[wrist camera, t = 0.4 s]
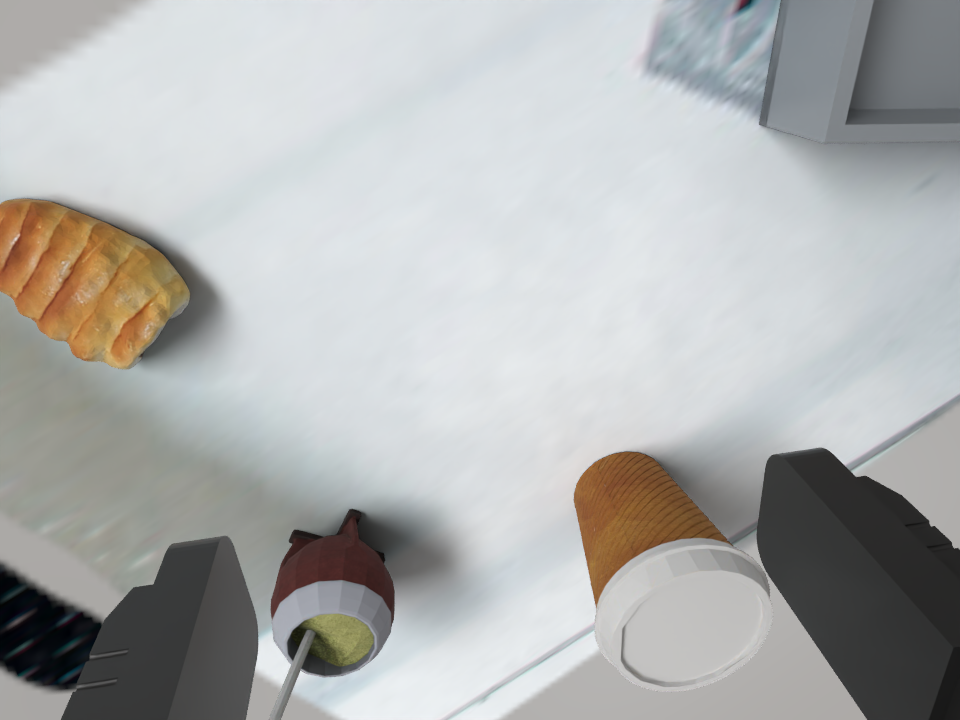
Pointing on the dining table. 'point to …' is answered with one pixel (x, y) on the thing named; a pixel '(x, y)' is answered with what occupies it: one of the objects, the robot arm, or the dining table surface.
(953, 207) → the dining table surface
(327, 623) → the mate gourd
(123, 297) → the pastry
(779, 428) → the dining table surface
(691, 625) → the disposable coffee cup
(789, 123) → the bin
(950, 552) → the robot arm
